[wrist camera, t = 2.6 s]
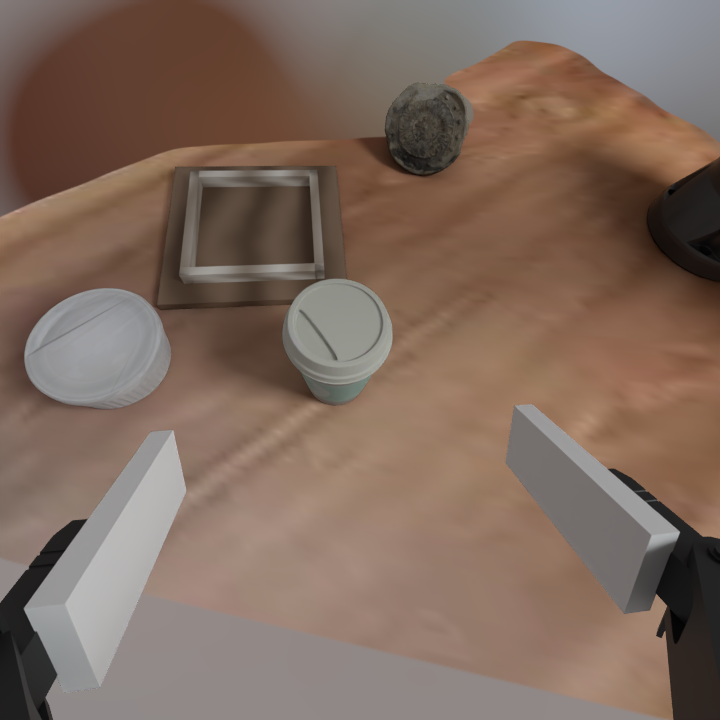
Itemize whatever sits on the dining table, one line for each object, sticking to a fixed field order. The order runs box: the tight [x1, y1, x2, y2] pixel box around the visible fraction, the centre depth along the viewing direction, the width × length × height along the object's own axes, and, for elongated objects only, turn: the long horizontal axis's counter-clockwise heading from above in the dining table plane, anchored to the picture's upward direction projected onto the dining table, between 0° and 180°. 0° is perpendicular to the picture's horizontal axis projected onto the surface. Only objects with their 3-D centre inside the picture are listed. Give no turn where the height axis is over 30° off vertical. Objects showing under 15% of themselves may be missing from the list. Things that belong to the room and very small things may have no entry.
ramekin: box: [24, 288, 171, 409], centre depth 35 cm, size 11×11×5 cm
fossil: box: [385, 83, 469, 175], centre depth 51 cm, size 11×9×10 cm
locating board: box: [157, 166, 347, 310], centre depth 44 cm, size 20×20×2 cm
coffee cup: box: [282, 279, 392, 405], centre depth 33 cm, size 8×8×12 cm
